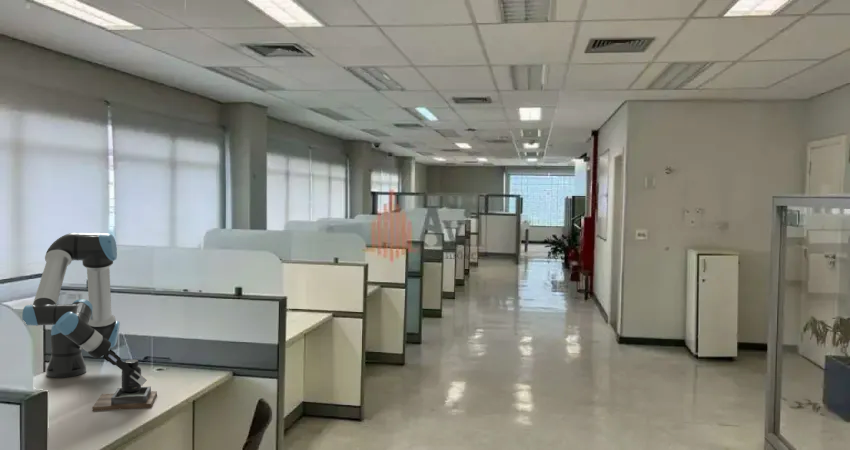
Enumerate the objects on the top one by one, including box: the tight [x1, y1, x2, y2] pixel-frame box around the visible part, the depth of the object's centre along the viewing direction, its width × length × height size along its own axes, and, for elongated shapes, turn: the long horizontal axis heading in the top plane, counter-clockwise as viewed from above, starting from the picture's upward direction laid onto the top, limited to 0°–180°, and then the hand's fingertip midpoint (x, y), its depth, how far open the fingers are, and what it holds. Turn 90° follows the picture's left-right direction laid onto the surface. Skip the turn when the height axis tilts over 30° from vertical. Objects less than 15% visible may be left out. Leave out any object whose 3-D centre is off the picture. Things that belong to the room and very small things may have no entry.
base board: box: [91, 386, 158, 412], centre depth 239 cm, size 15×20×4 cm
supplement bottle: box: [121, 358, 142, 394], centre depth 238 cm, size 7×7×12 cm
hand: (141, 380), depth 241 cm, fingers closed on supplement bottle, 7 cm apart
